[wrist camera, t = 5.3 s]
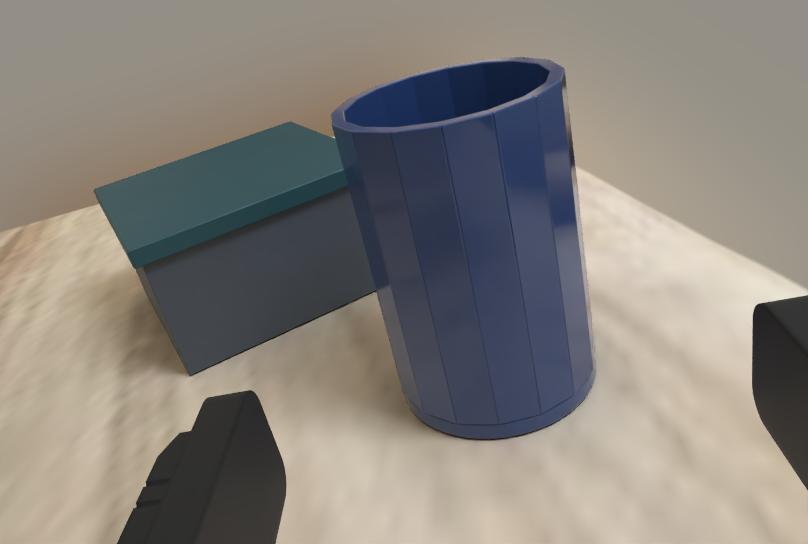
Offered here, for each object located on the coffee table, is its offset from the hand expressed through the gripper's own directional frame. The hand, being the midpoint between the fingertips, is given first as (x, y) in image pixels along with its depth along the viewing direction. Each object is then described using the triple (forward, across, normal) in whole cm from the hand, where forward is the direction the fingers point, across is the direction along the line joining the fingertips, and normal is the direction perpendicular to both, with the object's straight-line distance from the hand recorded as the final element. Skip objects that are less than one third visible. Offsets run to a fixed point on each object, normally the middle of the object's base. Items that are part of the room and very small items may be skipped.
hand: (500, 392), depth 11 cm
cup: (+11, 0, +8) cm, 13 cm away
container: (+21, +11, +8) cm, 25 cm away
